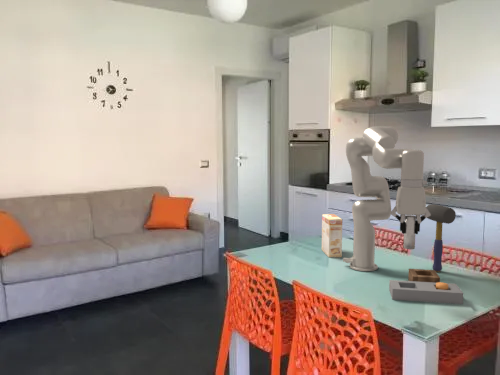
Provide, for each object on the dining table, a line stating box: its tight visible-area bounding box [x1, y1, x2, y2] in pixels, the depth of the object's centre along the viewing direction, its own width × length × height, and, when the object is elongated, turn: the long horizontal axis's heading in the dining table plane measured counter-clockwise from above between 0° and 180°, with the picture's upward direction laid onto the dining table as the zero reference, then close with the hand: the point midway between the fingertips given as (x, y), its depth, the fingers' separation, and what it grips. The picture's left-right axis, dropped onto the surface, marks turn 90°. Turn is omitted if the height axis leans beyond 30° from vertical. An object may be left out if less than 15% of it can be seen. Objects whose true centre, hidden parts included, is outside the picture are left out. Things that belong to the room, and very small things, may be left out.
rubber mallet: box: [426, 203, 457, 273], centre depth 192 cm, size 12×8×30 cm, turn 19°
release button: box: [436, 281, 448, 290], centre depth 159 cm, size 4×4×5 cm
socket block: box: [388, 279, 464, 305], centre depth 160 cm, size 24×10×5 cm, turn 78°
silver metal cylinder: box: [402, 215, 416, 250], centre depth 159 cm, size 4×4×12 cm
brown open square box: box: [407, 268, 441, 283], centre depth 173 cm, size 10×10×6 cm
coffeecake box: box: [321, 213, 343, 258], centre depth 223 cm, size 15×7×20 cm, turn 5°
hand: (409, 232), depth 159 cm, fingers closed on silver metal cylinder, 4 cm apart
